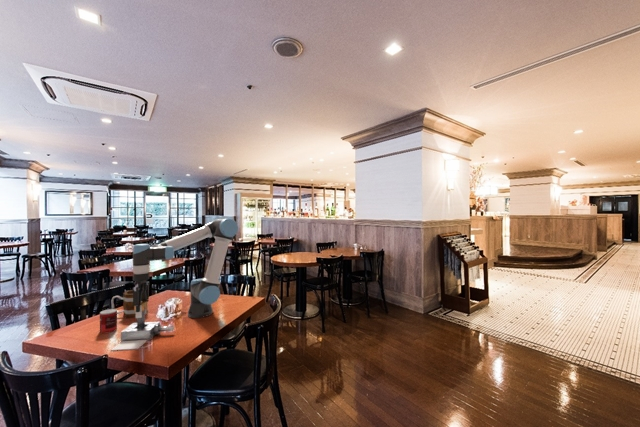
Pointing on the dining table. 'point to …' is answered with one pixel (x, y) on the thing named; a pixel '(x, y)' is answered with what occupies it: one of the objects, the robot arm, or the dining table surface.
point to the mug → (127, 305)
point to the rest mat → (129, 345)
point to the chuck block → (143, 331)
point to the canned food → (108, 320)
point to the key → (142, 320)
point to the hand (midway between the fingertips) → (141, 315)
